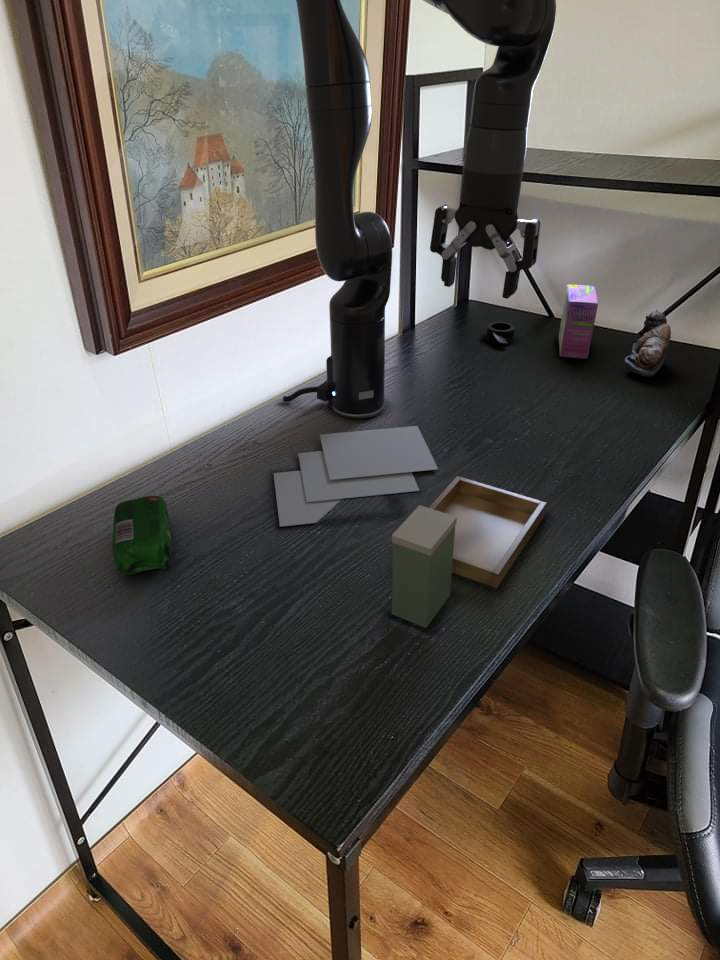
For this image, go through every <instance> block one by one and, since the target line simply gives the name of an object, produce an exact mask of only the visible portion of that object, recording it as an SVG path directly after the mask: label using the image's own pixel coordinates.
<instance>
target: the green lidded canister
mask: <svg viewBox="0 0 720 960" xmlns="http://www.w3.org/2000/svg"><path fill="white" fill-rule="evenodd" d="M456 523H457V517H455V516H452V515H449V514H446V513H443V512H440V511H436V510H433V509H430V508H429V507H426V506H424V505H420V504H419V505H418V506H417V507H416V509H414V510H413V512H412V513H411V514H409V516H408V517H407V518H406V519H405V520H404V521H403V523H401V524H400V526H399V527H397V529H396V530H395V531H394V532H393V533H392V534H391V544H392V558H391V559H392V564H391V565H392V567H391V573H392V574H391V575H392V576H391V615H393V616H395V617H398V618H400V619H402V620H405V621H408V622H410V623H413V624H415V625H417V626H420V627H422V628H425V629H427V628H428V627H429V625H430V624H431V623H432V621H433V619H435V617H436V616H437V615H438V613H439V612H440V610H441V609H442V607H443V606H444V605H445V603H446V602H447V600H449V598H450V596H451V589H452V588H451V587H452V576H453V575H452V574H453V572H452V563H453V549H454V536H455V525H456Z"/></svg>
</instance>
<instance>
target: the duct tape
mask: <svg viewBox="0 0 720 960" xmlns="http://www.w3.org/2000/svg"><path fill="white" fill-rule="evenodd" d="M515 331H516V326H515V324H513V323H512V322H507V321H492V322H489V323H488V324H487V325H486V334H485V335H486V337H485V340H486V341H487V342H488V343H489V344H492V345H497V346H498V345H500V346H504V345H510V344H512V343H513V342H514V341H515V340H514V339H515Z"/></svg>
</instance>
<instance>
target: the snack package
mask: <svg viewBox="0 0 720 960" xmlns="http://www.w3.org/2000/svg"><path fill="white" fill-rule="evenodd" d="M113 513H114V514H113V529H112V530H113V531H112V553H113V558H114V561H115V564H116V567H117V569H118V571H119V572H120V573H122V574H123V575H126V576H130V575H134V574H138V573H142V572H146V571H153V570H157V569H158V570H159V569H161V570H162V569H163V571H162V572H166V571H170V570H171V567H172V564H173V562H172V559H171V558H172V549H173V547H172V538H171V531H170V523H169V521H170V520H169V514H168V509H167V503H166V501H165V499H164V498H163V497H161V496H159V495H147V496H142V497H138V498H135V499H134V498H133V499H129V500H125V501H121V502H120V503H118V504H117V505H116V506H115V509H114V512H113Z"/></svg>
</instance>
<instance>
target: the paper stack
mask: <svg viewBox="0 0 720 960" xmlns="http://www.w3.org/2000/svg"><path fill="white" fill-rule="evenodd" d="M319 438H320V443H321V447H322V450H317V451H306V452H298V454H297V455H298V460H299V466H300V467H299V468H300V470H291V471H281V472H273V480H274V489H275V497H276V506H277V512H278V513H277V515H278V522H279V523H278V524H279V527H281V528H282V527H290V526H291V527H292V526H300V525H309V524H317V523H319V521H320V520H321V519H322V518H323V517H324V516H325V515H327V514H328V513H329V512H330V511H331V510H332V509H333V508H334V507H335V506H336V505H337V504H339V502H340V501H342V500H343V499H354V498H361V497H362V498H364V497H372V496H373V497H374V496H381V495H382V496H383V495H393V494H401V493H411V492H412V493H413V492H420V488H419V486H418V483H417V481H416V479H415V476H414V474H413V473H414V472H415V473H416V472H424V471H435V470H439V468H438V466H437V464H436V462H435V458H434V457H433V456H432V453H431V450H430V449H429V446H428V444H427V442H426V440H425V439H424V436H423V434H422V432H421V430H420V428H419V426H418V425H411V426H399V427H390V428H389V427H388V428H378V429H367V430H356V431H355V430H354V431H346V432H345V431H344V432H334V433H321V434H319Z"/></svg>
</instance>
